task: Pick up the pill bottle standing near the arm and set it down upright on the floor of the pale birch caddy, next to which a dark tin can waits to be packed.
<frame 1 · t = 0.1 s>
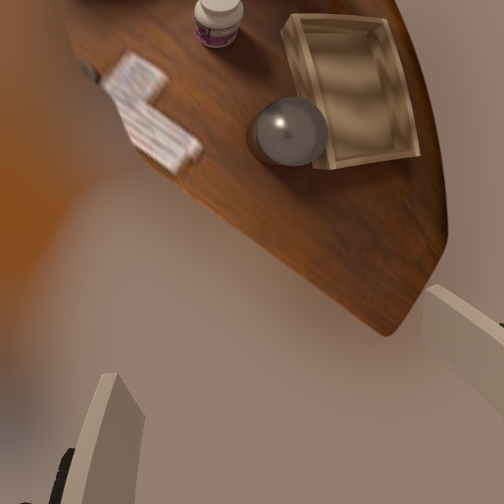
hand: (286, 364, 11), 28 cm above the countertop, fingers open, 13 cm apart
caddy: (343, 91, 34), on the countertop
tin can: (274, 137, 35), on the countertop
pill bottle: (216, 33, 29), on the countertop
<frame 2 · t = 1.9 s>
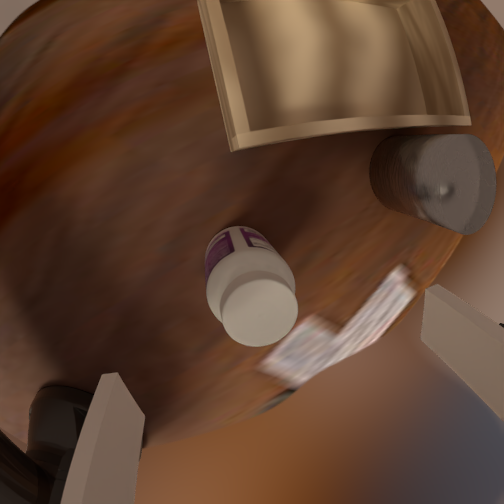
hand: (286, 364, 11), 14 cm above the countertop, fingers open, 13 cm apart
caddy: (329, 58, 20), on the countertop
tin can: (400, 173, 24), on the countertop
pill bottle: (238, 256, 24), on the countertop
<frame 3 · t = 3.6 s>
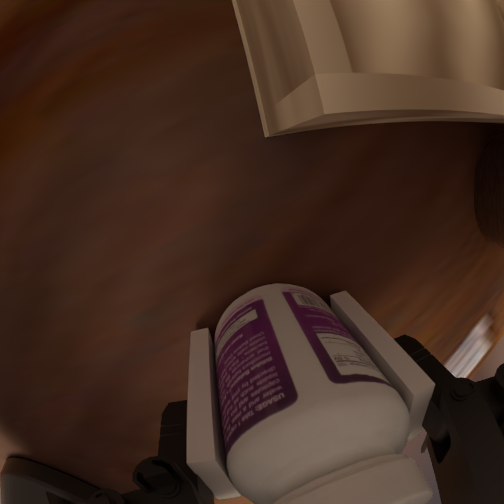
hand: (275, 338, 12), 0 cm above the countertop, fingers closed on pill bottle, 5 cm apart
caddy: (417, 4, 9), on the countertop
tin can: (502, 189, 13), on the countertop
pill bottle: (273, 331, 13), on the countertop, touching gripper
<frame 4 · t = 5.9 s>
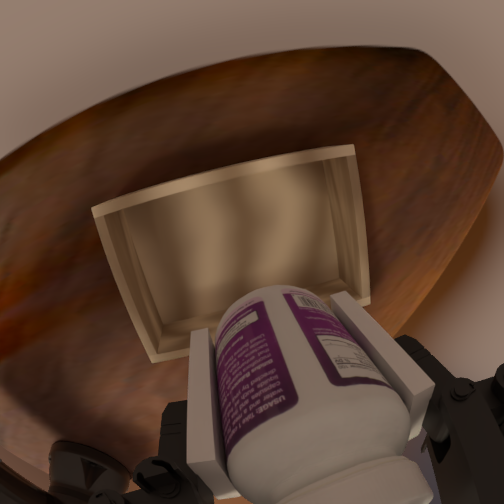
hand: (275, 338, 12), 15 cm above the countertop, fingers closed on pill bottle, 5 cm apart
caddy: (237, 241, 27), on the countertop
pill bottle: (274, 332, 13), point 15 cm above the countertop, touching gripper
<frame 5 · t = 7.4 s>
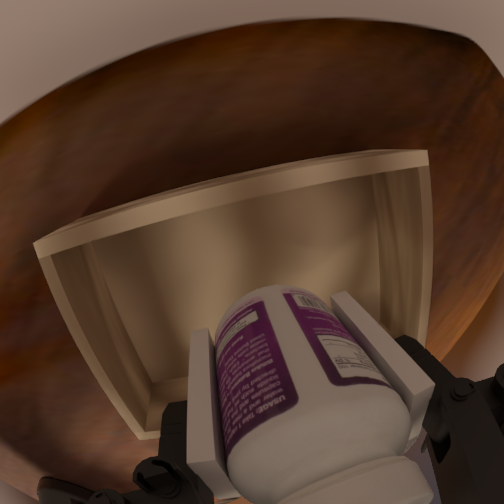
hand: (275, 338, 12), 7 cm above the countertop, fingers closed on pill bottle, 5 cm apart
caddy: (250, 280, 19), on the countertop
pill bottle: (274, 332, 13), point 6 cm above the countertop, touching gripper
when the fingers open (3 cm above the countertop, at t = 8.5 s): pill bottle drops 1 cm, resting on caddy.
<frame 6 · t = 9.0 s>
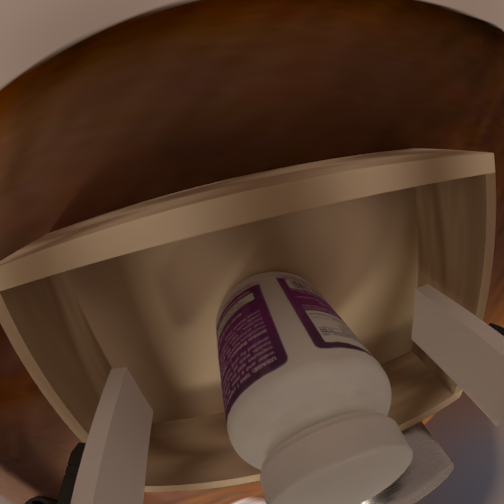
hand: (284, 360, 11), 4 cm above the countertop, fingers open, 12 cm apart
caddy: (265, 310, 15), on the countertop
tin can: (354, 409, 19), on the countertop
pill bottle: (269, 316, 14), point 1 cm above the countertop, touching caddy
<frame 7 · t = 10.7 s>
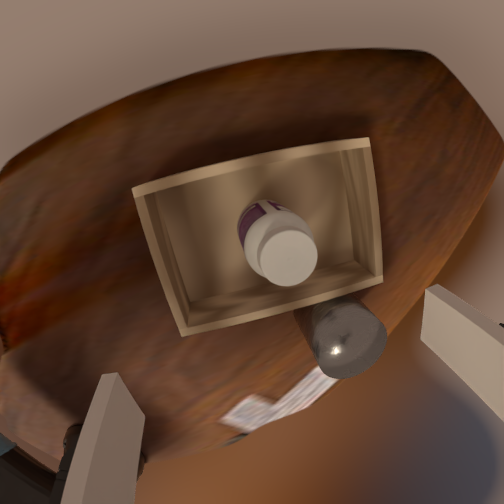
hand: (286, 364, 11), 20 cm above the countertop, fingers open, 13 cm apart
caddy: (261, 223, 29), on the countertop
tin can: (322, 305, 33), on the countertop
pill bottle: (264, 225, 28), point 1 cm above the countertop, touching caddy
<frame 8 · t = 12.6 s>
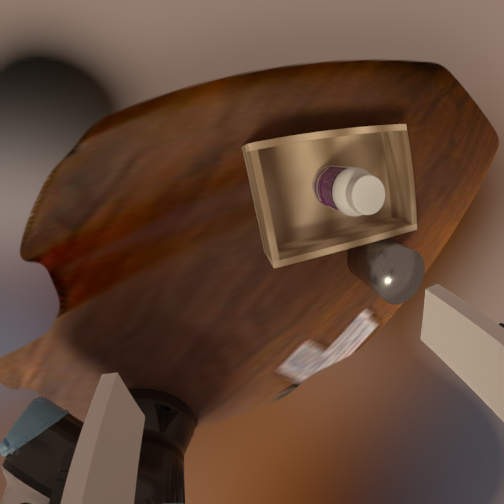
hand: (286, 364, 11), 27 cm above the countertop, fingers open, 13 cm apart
caddy: (327, 185, 36), on the countertop
tin can: (368, 254, 40), on the countertop
pill bottle: (330, 186, 36), point 1 cm above the countertop, touching caddy
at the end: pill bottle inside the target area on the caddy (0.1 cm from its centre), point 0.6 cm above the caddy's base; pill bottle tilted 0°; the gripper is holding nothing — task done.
